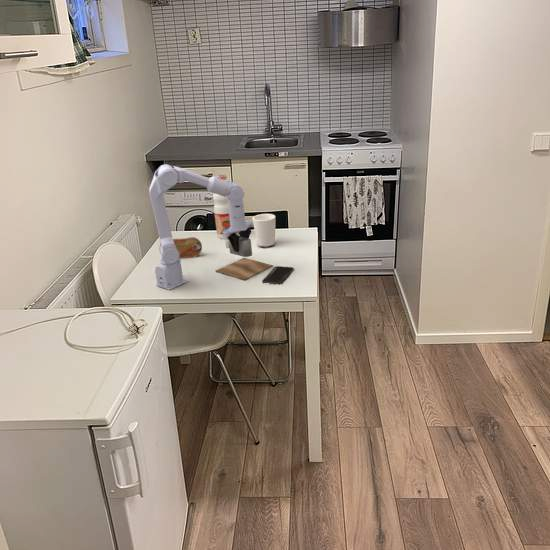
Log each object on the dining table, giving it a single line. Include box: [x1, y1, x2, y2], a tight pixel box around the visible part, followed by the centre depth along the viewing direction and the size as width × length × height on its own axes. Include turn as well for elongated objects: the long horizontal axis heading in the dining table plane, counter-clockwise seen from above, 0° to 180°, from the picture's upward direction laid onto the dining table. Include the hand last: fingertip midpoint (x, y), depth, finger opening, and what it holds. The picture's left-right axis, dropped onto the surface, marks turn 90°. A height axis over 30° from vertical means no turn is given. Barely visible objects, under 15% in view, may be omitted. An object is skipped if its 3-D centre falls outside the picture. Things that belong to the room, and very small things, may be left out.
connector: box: [224, 237, 253, 258], centre depth 218 cm, size 4×12×6 cm, turn 49°
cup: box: [252, 213, 277, 249], centre depth 243 cm, size 10×10×13 cm
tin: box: [173, 236, 203, 260], centre depth 238 cm, size 15×3×8 cm, turn 92°
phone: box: [261, 265, 295, 286], centre depth 213 cm, size 8×1×15 cm
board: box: [215, 257, 274, 281], centre depth 222 cm, size 16×16×1 cm
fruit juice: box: [212, 174, 238, 240], centre depth 255 cm, size 9×9×28 cm
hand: (240, 249), depth 218 cm, fingers closed on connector, 4 cm apart
